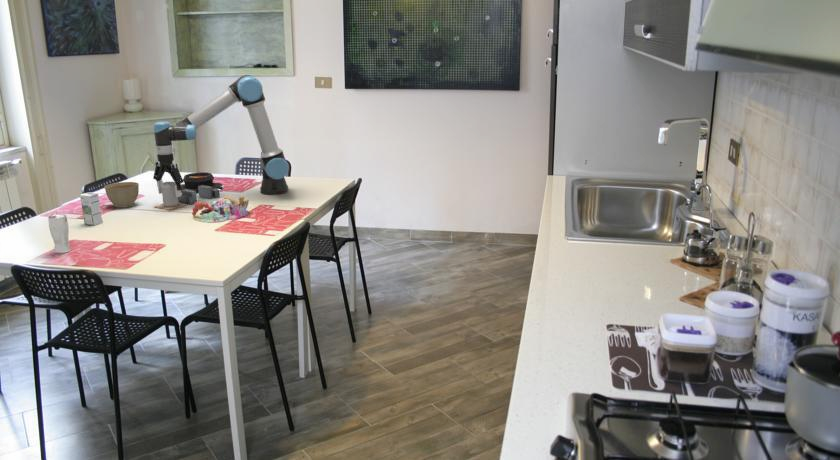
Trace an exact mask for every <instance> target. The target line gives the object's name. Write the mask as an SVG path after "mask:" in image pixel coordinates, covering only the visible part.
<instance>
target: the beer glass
mask: <svg viewBox="0 0 840 460" xmlns="http://www.w3.org/2000/svg"><path fill="white" fill-rule="evenodd" d="M47 219H48V227H49V231H50V235H51V237H52V240H53V244H54V253H55V254H59V253H60V254H66V252H67V253H70V252H71V251H72V248H71V246H70V245H71V244H70V242H69V241H70V240H69V233H70V232H69V231H70V230H69V223H68V218H67V215H66V214H64V213H59V214H57V213H56V214H52V215H49V216H48V217H47ZM69 251H70V252H69Z"/></svg>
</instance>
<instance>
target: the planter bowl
mask: <svg viewBox="0 0 840 460" xmlns="http://www.w3.org/2000/svg"><path fill="white" fill-rule="evenodd" d="M139 186H140V183H139V182H134V181H124V182H123V181H121V182H114V183H110V184H106V185H105V186H104V191H105V193H106V197H107V198H108V200H109V201H110V202H111V204H112V205H113V207H114V208H117V209H118V208H119V209H121V208H129V207H132V206H135V202H136V200H137V198H138V195H139V189H140V188H139Z"/></svg>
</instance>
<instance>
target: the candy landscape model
mask: <svg viewBox="0 0 840 460" xmlns="http://www.w3.org/2000/svg"><path fill="white" fill-rule="evenodd" d="M249 202H250V201H249V199H245V196H239V197H238V201H237V199H233V198H232V197H229V196H224V197H223V198H222V197H221V198H218V200H217V201H216V200H215V201H212V203H211V205H209V203H208V202H204V203H203V202H202V201H198V200H197V202H196V203H195V204H194V207H192V213H191V214H192V219H193V220H194V221H197V222H202V223H208V224H209V223H210V224H211V223H212V224H213V223H222V222H223V223H224V222H226V221H232V220H233V219H234V220H239V219H241V218H245V217H247V215H248V214H249V212H250V211H249V210H247V209H248V206H249ZM203 208H204V209H203ZM199 211H201V212H199ZM198 212H199V213H198ZM243 216H244V217H243ZM234 220H233V221H234Z"/></svg>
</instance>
